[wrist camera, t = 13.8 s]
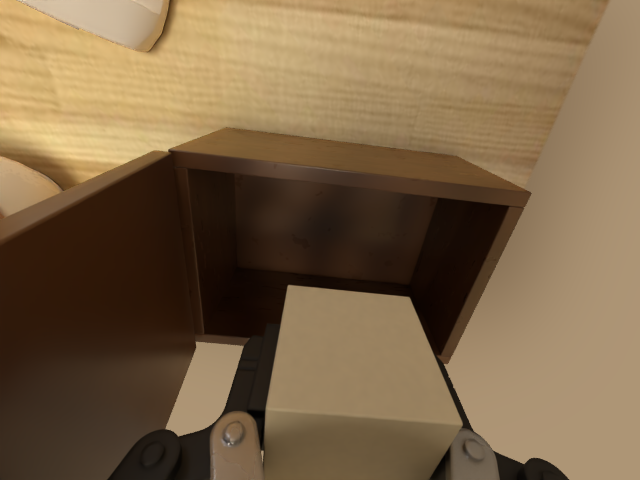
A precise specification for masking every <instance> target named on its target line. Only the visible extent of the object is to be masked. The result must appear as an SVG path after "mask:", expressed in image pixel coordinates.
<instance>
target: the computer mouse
mask: <svg viewBox="0 0 640 480" xmlns="http://www.w3.org/2000/svg"><path fill="white" fill-rule="evenodd" d="M17 1H19V2H21V3H23V4H25V5H27V6H29V7H31V8H33V9H35V10H37V11H40V12H42V13H44V14H46V15H48V16H50V17H52V18H54V19H56V20H59V21H61V22H63V23H65V24H67V25H69V26H72V27H74V28H76V29H78V30H79V28H80V29H82V30H85V31H87V32H90V33H92V34H94V35H97V36H99V37H101V38H104V39H106V40H108V41H111V42H114V43H116V44H119V45H122V46H124V47H127V48H130V49H133V50H135V51H141V52H147V51H149V50H150V49H151V48H152V46H153V45H154V44H155V42H156V41H157V39H158V38H159V37H160V35H161V34H162V31H163V27H164V24H165V20H166V16H167V12H168V8H169V1H170V0H17Z"/></svg>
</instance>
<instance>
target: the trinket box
mask: <svg viewBox="0 0 640 480" xmlns="http://www.w3.org/2000/svg"><path fill="white" fill-rule="evenodd" d="M61 192H63V190H62V189H61V188H60V187H59V186H58V185H57V184H56V183H55V182H54V181H53V180H51V179H50V178H49V177H47V176H46V175H44V174H42V173H40V172H38V171H36V170H33V169H31V168H29V167H27V166H25V165H23V164H21V163H19V162H16V161H14V160H11V159H8V158H5V157H2V156H0V219H3V218H5V217H7V216H9V215H12V214H14V213H16V212H18V211H21V210H23V209H25V208H27V207H29V206H32V205H34V204H36V203H38V202H41V201H43V200H45V199H47V198H50V197H52V196H54V195H56V194H58V193H61Z"/></svg>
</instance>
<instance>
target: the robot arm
mask: <svg viewBox="0 0 640 480" xmlns="http://www.w3.org/2000/svg"><path fill="white" fill-rule="evenodd" d="M280 326H281V325H280V324H270V323H267V325H266V329H265V334H264V336H255V335H252V336H251V338H250V339H249V340H248V341H247V342H246V344H245V345H244V348H243V351H242V354H241V358H240V361H239V364H238V368H237V371H236V374H235V377H234V380H233V384H232V387H231V390H230V393H229V397H228V400H227V403H226V406H225V409H224V411H223V413H222V415H221V416H220V417H219V418H218V419H217V420H216V422H214V423H213V424H212V425H210V426H209V427H207V428H205V429H203V430H200V431H197V432H194V433H190V434H186V435H183V436H179V437H178V436H177V435H176V434H175V433H174V432H172V431H171V430H166V429H161V430H156V431H153V432H150V433H148V434H146V435H145V436H143V437H142V438H141V439H139V440H138V441H137V442H136V443H135V444H134V445H133V447H132V448H131V449H130V450H129V452H128V453H127V454H126V456H125V457H124V458H123V460H122V461H121V462H120V464H119V465H118V466H117V467H116V469H115V470H114V471H113V473H112V474H111V475H110V477H109V478H108V479H107V480H265V475H264V468H263V462H262V456H261V450H263V451H264V434H265V412H266V403H267V398H268V392H269V387H270V381H271V376H272V370H273V365H274V359H275V353H276V348H277V342H278V337H279V331H280ZM433 354H434V356H435V359H436V361H437V363H438V366H439V368H440V371H441V373H442V375H443V378H444V380H445V382H446V385H447V387H448V390H449V392H450V394H451V397H452V399H453V401H454V404H455V406H456V409H457V411H458V413H459V416H460V418H461V420H462V423H463V426H462V427H461V429H460V430H459V432H458V434H457V435H456V437H455V438H454V440H453V442H452V443H451V445H450V447H449V448H448V450H447V451H446V453H445V455H444V456H443V458H442V459H441V461H440V463H439V464H438V466H437V467H436V469H435V471H434V472H433V474H432V476H431V477H430V479H429V480H569V479H568V478H567V477H566V476H565V475H564V474H563V473H562V472H561V471H560V470H559V469H558V468H557V467H555V466H554V465H552V464H551V463H549V462H547V461H545V460H543V459H539V458H531V459H529V460H528V461H527V462H526V463H525V464H522V463H520V462H518V461H515V460H513V459H510V458H508V457H505V456H503V455H501V454H499V453H497V452H495V451H493V450H492V448H491V447H490V445H489V444H488V443H487V442H486V441H485V440H484V439H483V438H482V437H481V436H480V435H478V434H477V433H475V432H474V431H473V429H472V427H471V425H470V423H469V420H468V418H467V416H466V414H465V412H464V409H463V407H462V405H461V402H460V400H459V398H458V396H457V393H456V391H455V389H454V388H453V384H452V382H451V380H450V378H449V377H448V373H447V371H446V369H445V366H444V364H443V362H442V361H441V360H440V359H439V358H438V357H437V355H436V354H435V353H434V352H433Z"/></svg>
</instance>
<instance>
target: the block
mask: <svg viewBox="0 0 640 480" xmlns="http://www.w3.org/2000/svg"><path fill="white" fill-rule="evenodd" d="M462 426H463V423H462V420H461V418H460V416H459V413H458V411H457V409H456V406H455V404H454V401H453V399H452V397H451V394H450V392H449V390H448V387H447V385H446V382H445V380H444V378H443V375H442V373H441V371H440V368H439V366H438V363H437V361H436V359H435V356H434V354H433V352H432V349H431V347H430V344H429V342H428V340H427V337H426V335H425V332H424V330H423V328H422V325H421V323H420V321H419V318H418V316H417V313H416V311H415V309H414V306H413V304H412V302H411V299H410V297H404V296H394V295H384V294H374V293H364V292H354V291H344V290H334V289H324V288H314V287H304V286H294V285H288V287H287V292H286V298H285V303H284V309H283V314H282V320H281V326H280V331H279V337H278V342H277V348H276V353H275V359H274V365H273V370H272V376H271V381H270V387H269V392H268V398H267V403H266V412H265V434H264V456H263V468H264V475H265V480H429V479H430V477H431V476H432V474H433V472H434V471H435V469H436V467H437V466H438V464H439V463H440V461H441V459H442V458H443V456H444V455H445V453H446V451H447V450H448V448H449V447H450V445H451V443H452V442H453V440H454V438H455V437H456V435H457V434H458V432H459V430H460V429H461V427H462Z"/></svg>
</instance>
